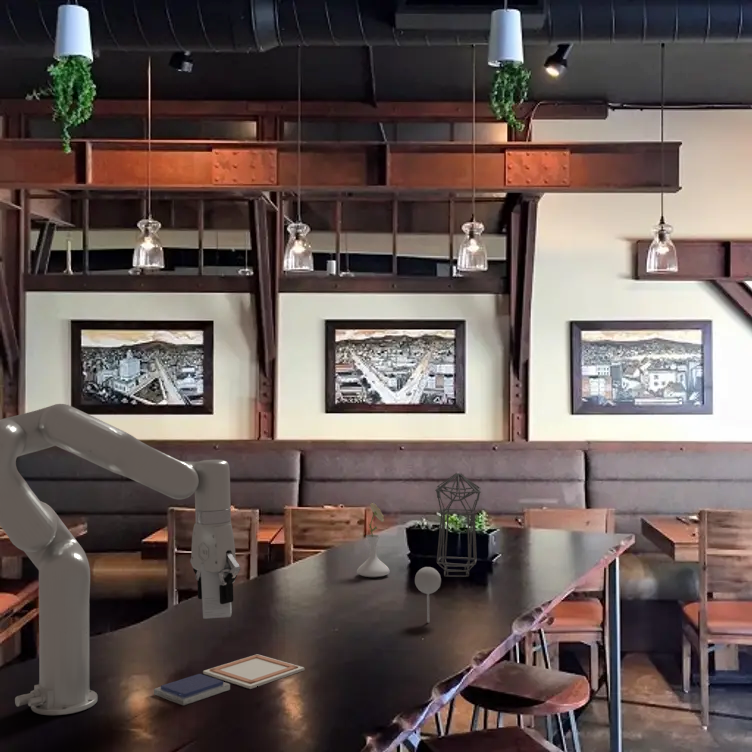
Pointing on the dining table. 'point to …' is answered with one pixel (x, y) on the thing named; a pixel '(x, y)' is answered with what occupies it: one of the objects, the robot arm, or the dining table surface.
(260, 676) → the white square board
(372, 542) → the flower in vase
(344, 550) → the dining table surface
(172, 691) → the ink pad
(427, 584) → the lollipop
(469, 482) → the geometric lantern
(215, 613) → the skincare box
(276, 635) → the dining table surface
